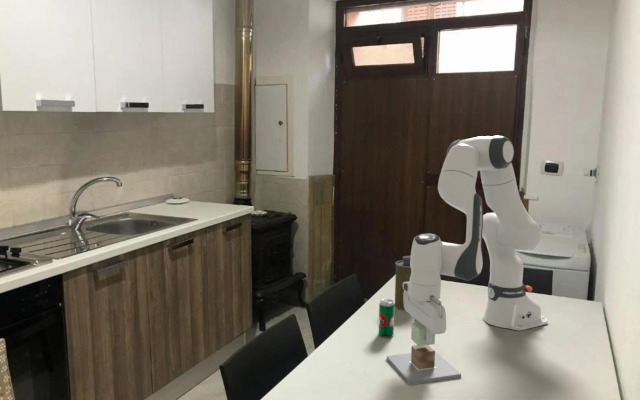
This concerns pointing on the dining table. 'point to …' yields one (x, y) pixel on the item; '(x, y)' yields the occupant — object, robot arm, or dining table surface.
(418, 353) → the walnut brick
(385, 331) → the soda can
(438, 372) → the board
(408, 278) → the canister
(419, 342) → the sage brick
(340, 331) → the dining table surface
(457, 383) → the dining table surface
